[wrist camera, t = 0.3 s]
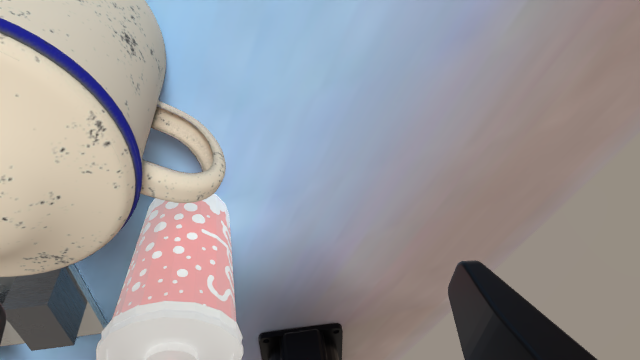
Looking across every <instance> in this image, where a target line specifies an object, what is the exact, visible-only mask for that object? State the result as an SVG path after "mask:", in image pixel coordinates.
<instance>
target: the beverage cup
mask: <svg viewBox="0 0 640 360" xmlns="http://www.w3.org/2000/svg"><path fill="white" fill-rule="evenodd" d="M242 338H243V337H242V334H241V332H240V329H239V327H238V324H237V323H236V311H235V296H234V281H233V265H232V250H231V235H230V220H229V213H228V210H227V207H226V204H225V203H224V202H223V201H222V200H221V199H220V198H219V197H218V196H217V195H215V194H213V195H212V196H210V197H208V198H207V199H204V200H201V201H198V202H193V203H175V202H169V201H165V200H161V199H157V198H155V199H154V200H153V202H152V203H151V204H150V206H149V208H148V211H147V215H146V218H145V221H144V224H143V227H142V230H141V233H140V236H139V239H138V242H137V245H136V248H135V251H134V254H133V257H132V260H131V263H130V266H129V269H128V272H127V276H126V279H125V282H124V285H123V288H122V291H121V294H120V297H119V300H118V303H117V306H116V309H115V312H114V315H113V318H112V320H111V321H110V322H109V324H108V325H107V326H106V327H105V328H104V330H103V331H102V339H101V340H100V341H99V342H98V345H97V348H96V360H241V359H242V356H243V345H242V343H241V342H242Z"/></svg>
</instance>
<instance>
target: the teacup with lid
mask: <svg viewBox="0 0 640 360" xmlns="http://www.w3.org/2000/svg"><path fill="white" fill-rule="evenodd" d="M165 70H166V53H165V45H164V41H163V37H162V33H161V31H160V28H159V25H158V23H157V21H156V18H155V16H154V14H153V13H152V11H151V9H150V7H149V6H148V4H147V3H146V1H145V0H0V277H13V276H25V275H33V274H39V273H44V272H48V271H52V270H56V269H60V268H63V267H66V266H69V265H71V264H74V263H76V262H78V261H81V260H82V259H84V258H86V257H88V256H90V255H91V254H93V253H95V252H96V251H97V250H99V249H100V248H102V247H103V246H105V245H106V244H107V243H108V242H109V241H110V240H112V238H113V237H114V236H115V235H116V234H117V233H118V232H119V231H120V230H121V229H122V228H123V227H124V225H125V224H126V223H127V221H128V220H129V218H130V217H131V215H132V213H133V211H134V210H135V208H136V205H137V202H138V200H139V197H140V193H141V194H144V195H147V196H150V197H154V198H157V199H161V200H165V201H169V202H175V203H193V202H198V201H201V200H204V199H207V198H208V197H210V196H212V195H213V194H214V193H215V192H216V190H217V189H218V187H219V186H220V184H221V182H222V180H223V178H224V175H225V159H224V155H223V152H222V150H221V148H220V146H219V144H218V142H217V140H216V139H215V138H214V136H213V135H212V134H211V133H210V132H209V130H208V129H207V128H206V127H205V126H203V125H202V124H201V123H200V122H199V121H197V120H196V119H194V118H193V117H191V116H190V115H188V114H186V113H184V112H182V111H181V110H178V109H176V108H174V107H172V106H170V105H167V104H165V103H163V102H160V101H159V100H158V99H159V96H160V92H161V89H162V85H163V82H164V77H165ZM150 128H153V129H156V130H158V131H160V132H163V133H165V134H167V135H169V136H171V137H173V138H175V139H177V140H179V141H180V142H182V143H183V144H184V145H185V146H187V147H188V148H189V149H190V150H191V151H192V153H193V154H194V155H195V157H196V158H197V160H198V162H199V164H200V166H201V169H202V172H200V173H184V172H179V171H175V170H171V169H168V168H165V167H162V166H159V165H156V164H154V163H151V162H148V161H145V160H143V159H142V156H143V153H144V149H145V146H146V142H147V139H148V135H149V132H150Z"/></svg>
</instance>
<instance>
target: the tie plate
mask: <svg viewBox="0 0 640 360" xmlns="http://www.w3.org/2000/svg"><path fill="white" fill-rule="evenodd" d="M0 302H1V304H2V306H3V308H4V309H5V312H6V318H7V319H6V326H5V330H4V334H3V338H2V341H1V345H0V346H7V345H15V344H23V343H26V344H27V346H28V347H29V348H30V349H31V351H33V350H40V349H48V348H56V347H63V346H71V345H74V344H75V340H76V337H77V336H85V335H93V334H100V333H102V331H103V330H104V328H105V327H106V326H107V325H108V324H107V323H106V321H105V319H104V317H103V315H102V314H101V312H100V310H99V308H98V306H97V305H96V303H95V301H94V299H93V297H92V296H91V294H90V292H89V290H88V288H87V287H86V285H85V283H84V281H83V279H82V278H81V276H80V274H79V272H78V270H77V269H76V267H75V265H74V264H71V265H69V266H66V267H63V268H60V269H56V270H52V271H48V272H44V273H39V274H33V275H25V276H13V277H0Z"/></svg>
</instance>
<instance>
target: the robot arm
mask: <svg viewBox="0 0 640 360" xmlns="http://www.w3.org/2000/svg"><path fill="white" fill-rule="evenodd" d="M448 295H449V300H450V304H451V308H452V312H453V316H454V320H455V324H456V327H457V331H458V335H459V339H460V343H461V347H462V351H463V355H464V358H465V360H597V359H596V358H595V357H594V356H593V355H591V354H590V353H589V352H588V351H587V350H585V349H584V348H583V347H582V346H580V345H579V344H578V343H577V342H576V341H575V340H573V339H572V338H571V337H570V336H569V335H567V334H566V333H565V332H564V331H563V330H561V329H560V328H559V327H558V326H557V325H555V324H554V323H553V322H552V321H551V320H549V319H548V318H547V317H546V316H545V315H543V314H542V313H541V312H540V311H539V310H537V309H536V308H535V307H534V306H532V305H531V304H530V303H529V302H528V301H527V300H525V299H524V298H523V297H522V296H521V295H519V294H518V293H517V292H516V291H515V290H513V289H512V288H511V287H510V286H509V285H507V284H506V283H505V282H504V281H503V280H501V279H500V278H499V277H498V276H497V275H495V274H494V273H493V272H492V271H491V270H489V269H488V268H487V267H486V266H485V265H483V264H482V263H481V262H479V261H461V262H459V263H458V264H457V266H456V269H455V271H454V274H453V276H452V279H451V281H450V283H449V287H448ZM6 319H7V318H6V312H5V309H4V308H3V306H2V304H1V302H0V345H1V341H2V338H3V334H4V330H5V326H6ZM259 342H260V348H261V353H262V359H263V360H342V326H341V325H340V324H329V325H322V326H314V327H307V328H299V329H292V330H284V331H277V332H269V333H263V334H261V335H260V336H259Z"/></svg>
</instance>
